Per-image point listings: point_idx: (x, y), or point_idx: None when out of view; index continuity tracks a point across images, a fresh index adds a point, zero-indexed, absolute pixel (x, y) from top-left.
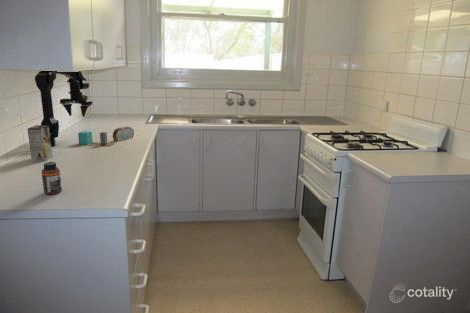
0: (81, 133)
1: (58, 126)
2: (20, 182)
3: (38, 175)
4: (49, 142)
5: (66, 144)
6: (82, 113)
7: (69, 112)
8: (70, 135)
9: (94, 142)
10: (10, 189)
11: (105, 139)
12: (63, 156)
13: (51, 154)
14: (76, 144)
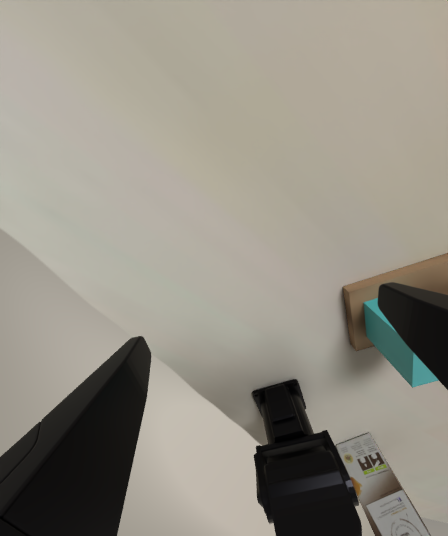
0: (432, 378)
1: (342, 481)
2: (430, 505)
3: (436, 486)
4: (409, 499)
5: (281, 337)
6: (441, 363)
7: (136, 413)
8: (80, 182)
9: (418, 276)
10: (436, 516)
11: None
12: (397, 418)
13: (376, 444)
14: (357, 343)
